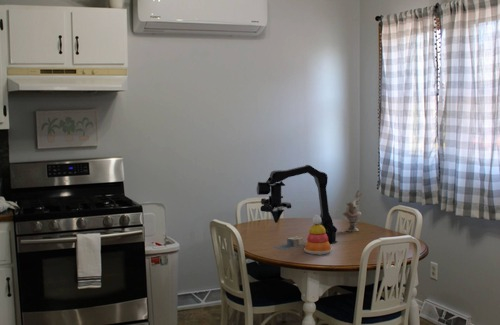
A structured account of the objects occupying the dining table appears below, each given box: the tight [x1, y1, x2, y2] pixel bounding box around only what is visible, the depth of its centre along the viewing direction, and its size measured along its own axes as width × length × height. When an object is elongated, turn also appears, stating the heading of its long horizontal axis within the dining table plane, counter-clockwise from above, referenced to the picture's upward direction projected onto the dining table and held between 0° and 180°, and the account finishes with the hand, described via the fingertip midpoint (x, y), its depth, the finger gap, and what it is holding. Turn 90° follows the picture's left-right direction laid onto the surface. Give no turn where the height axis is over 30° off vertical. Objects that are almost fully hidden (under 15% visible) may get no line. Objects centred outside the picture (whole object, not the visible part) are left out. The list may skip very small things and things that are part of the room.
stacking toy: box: [303, 214, 333, 256], centre depth 282 cm, size 14×14×20 cm
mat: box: [272, 242, 307, 251], centre depth 297 cm, size 10×20×1 cm, turn 133°
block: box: [286, 236, 305, 246], centre depth 299 cm, size 5×4×8 cm
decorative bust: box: [342, 190, 363, 232], centre depth 334 cm, size 11×13×25 cm
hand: (276, 222), depth 298 cm, fingers closed
